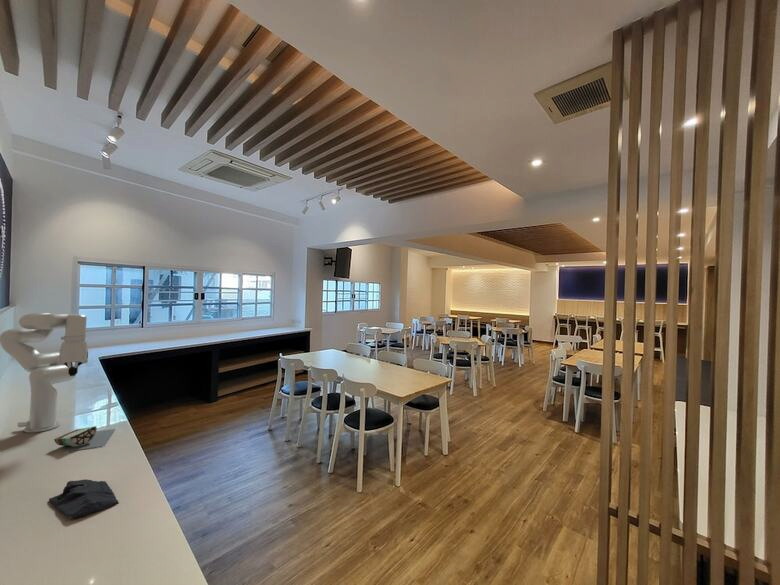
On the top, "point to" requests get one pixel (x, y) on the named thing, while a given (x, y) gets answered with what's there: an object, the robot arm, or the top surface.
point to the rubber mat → (95, 440)
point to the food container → (77, 437)
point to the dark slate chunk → (84, 498)
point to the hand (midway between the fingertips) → (72, 375)
